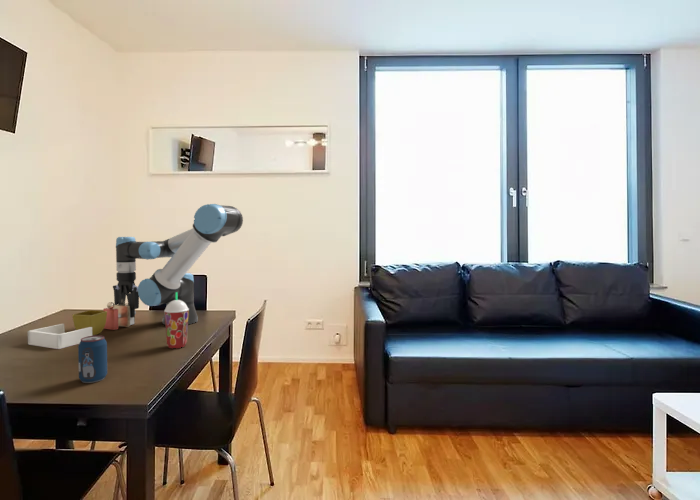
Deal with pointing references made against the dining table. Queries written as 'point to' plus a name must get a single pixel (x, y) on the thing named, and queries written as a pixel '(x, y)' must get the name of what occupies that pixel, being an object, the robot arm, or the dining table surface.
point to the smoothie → (176, 323)
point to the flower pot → (90, 320)
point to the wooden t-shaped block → (117, 316)
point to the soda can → (92, 359)
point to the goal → (57, 336)
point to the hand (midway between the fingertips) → (126, 324)
